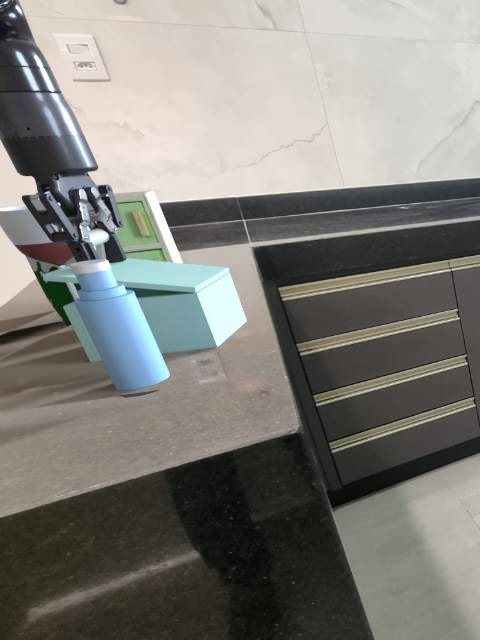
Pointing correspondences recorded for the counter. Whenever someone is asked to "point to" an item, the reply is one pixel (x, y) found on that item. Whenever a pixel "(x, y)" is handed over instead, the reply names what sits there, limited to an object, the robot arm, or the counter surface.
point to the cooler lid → (147, 271)
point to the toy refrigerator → (144, 228)
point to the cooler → (179, 317)
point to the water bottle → (118, 328)
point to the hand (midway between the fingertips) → (105, 265)
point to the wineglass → (34, 239)
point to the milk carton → (54, 286)
